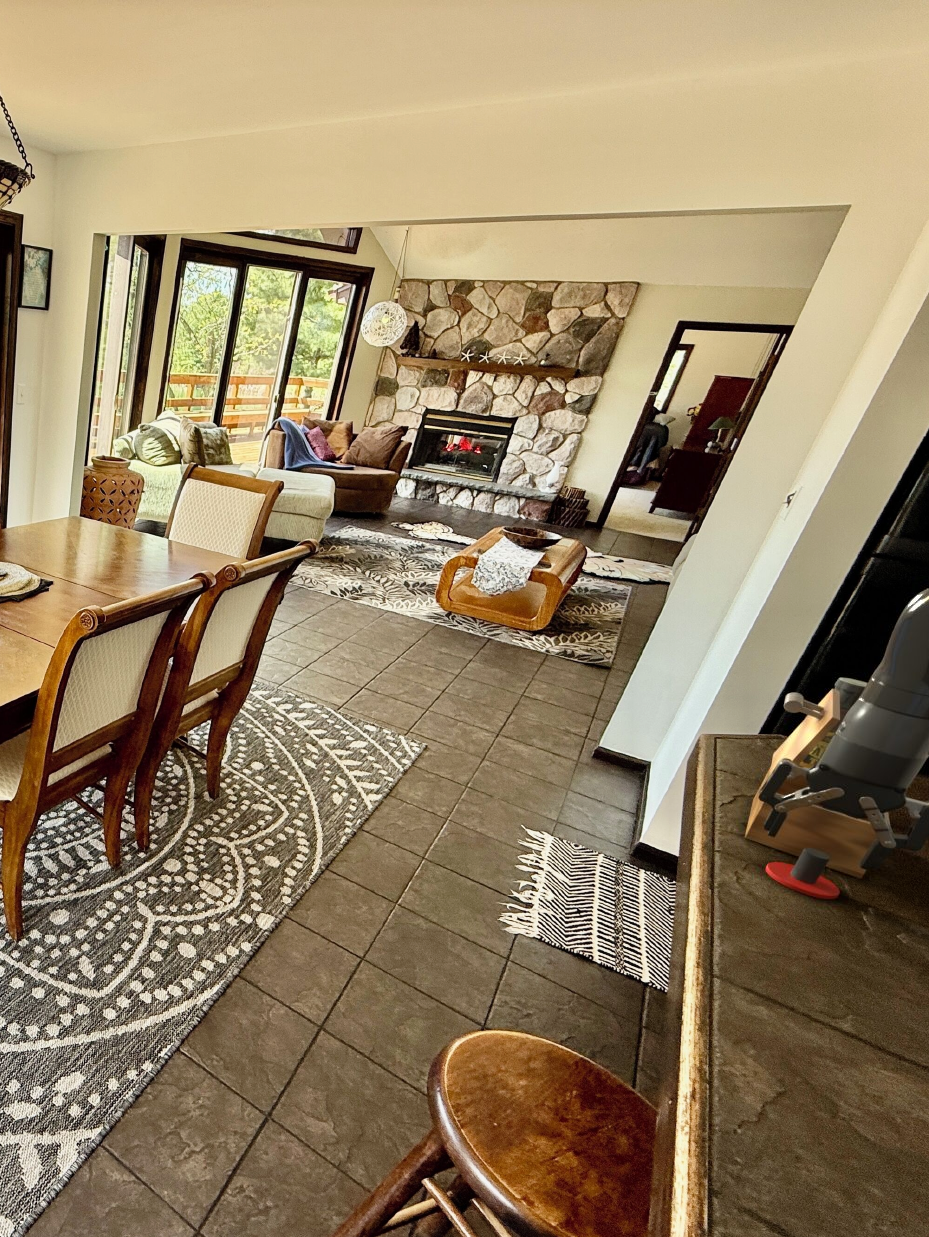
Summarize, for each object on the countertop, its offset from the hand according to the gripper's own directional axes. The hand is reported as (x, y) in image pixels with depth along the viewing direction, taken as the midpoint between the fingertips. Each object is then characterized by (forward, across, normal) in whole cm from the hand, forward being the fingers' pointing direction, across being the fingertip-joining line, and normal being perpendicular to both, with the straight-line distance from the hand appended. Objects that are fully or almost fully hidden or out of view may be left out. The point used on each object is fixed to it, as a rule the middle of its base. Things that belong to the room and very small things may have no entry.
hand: (815, 850), depth 90 cm
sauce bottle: (+5, +1, -36) cm, 36 cm away
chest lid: (-9, +4, -16) cm, 19 cm away
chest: (+5, 0, -16) cm, 17 cm away
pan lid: (+5, 0, 0) cm, 5 cm away
